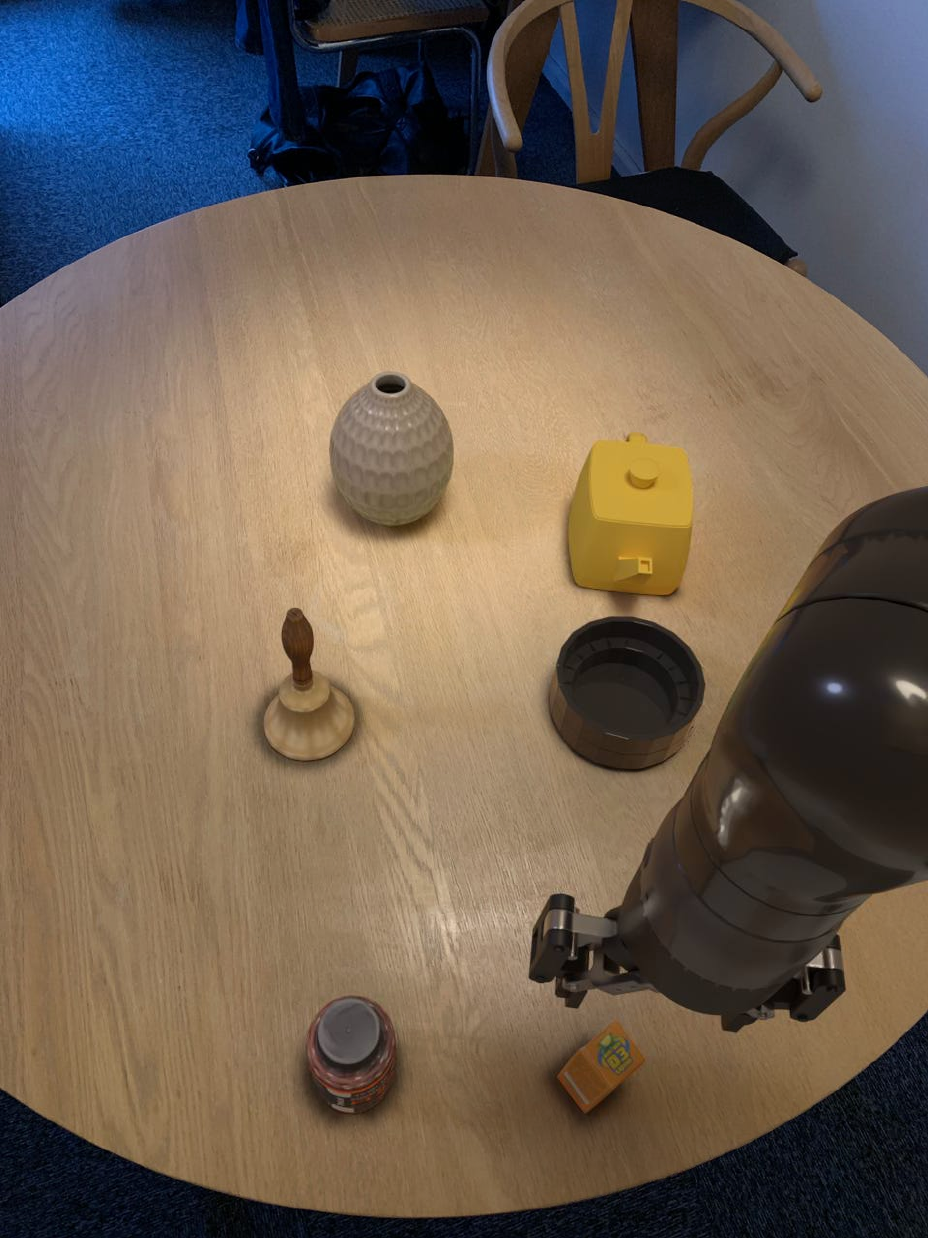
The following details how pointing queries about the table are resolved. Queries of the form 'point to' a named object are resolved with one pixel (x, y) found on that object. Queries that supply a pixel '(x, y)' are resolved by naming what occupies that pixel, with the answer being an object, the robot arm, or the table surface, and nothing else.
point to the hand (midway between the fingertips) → (649, 1001)
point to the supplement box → (600, 1066)
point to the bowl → (626, 691)
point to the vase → (391, 450)
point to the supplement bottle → (352, 1053)
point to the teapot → (632, 517)
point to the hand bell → (306, 702)
